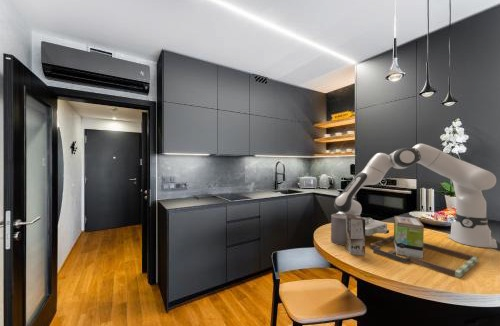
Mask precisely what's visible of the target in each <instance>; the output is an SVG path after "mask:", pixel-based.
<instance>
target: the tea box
mask: <svg viewBox="0 0 500 326" xmlns="http://www.w3.org/2000/svg"><path fill="white" fill-rule="evenodd" d="M393 218H394V220H393V221H394V222H393V224H394V225H393V235H394V241H393V244H394V249H395V250H394V251H396V255H401V256H406V257H408V256H412V257H415V258H418V259H423V257H424V248H423V243H424V232H425V229H424V227H425V226H424V224H423V223H422V222H421V221H420V220H419V218H417V217H408V216H398V215H394V217H393Z"/></svg>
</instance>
